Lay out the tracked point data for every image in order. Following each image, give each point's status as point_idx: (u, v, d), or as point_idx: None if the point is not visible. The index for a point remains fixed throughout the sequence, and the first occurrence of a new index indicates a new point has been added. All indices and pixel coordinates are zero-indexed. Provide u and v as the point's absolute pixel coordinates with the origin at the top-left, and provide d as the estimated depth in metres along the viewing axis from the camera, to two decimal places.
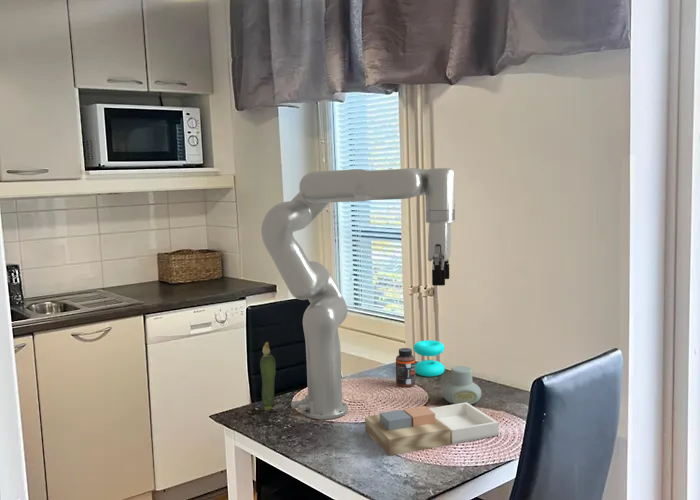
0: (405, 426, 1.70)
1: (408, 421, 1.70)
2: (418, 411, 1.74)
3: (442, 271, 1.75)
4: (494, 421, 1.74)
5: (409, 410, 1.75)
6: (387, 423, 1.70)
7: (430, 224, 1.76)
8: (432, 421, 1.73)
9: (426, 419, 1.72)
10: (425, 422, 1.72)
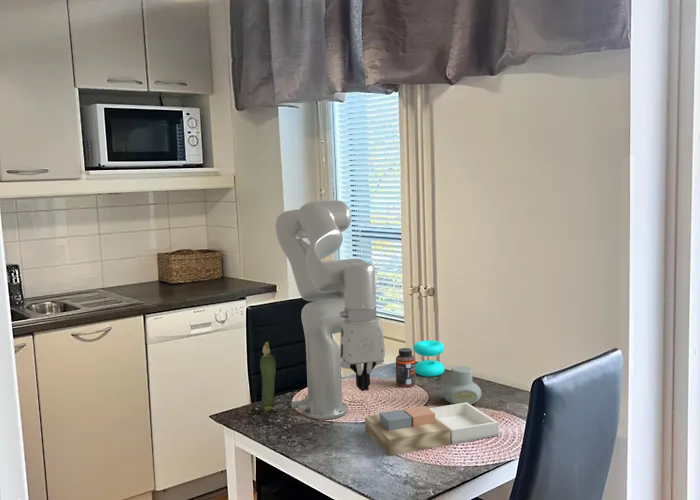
0: (405, 426, 1.70)
1: (408, 421, 1.70)
2: (418, 411, 1.74)
3: None
4: (494, 421, 1.74)
5: (409, 410, 1.75)
6: (387, 423, 1.70)
7: (379, 321, 1.66)
8: (432, 421, 1.73)
9: (426, 419, 1.72)
10: (425, 422, 1.72)
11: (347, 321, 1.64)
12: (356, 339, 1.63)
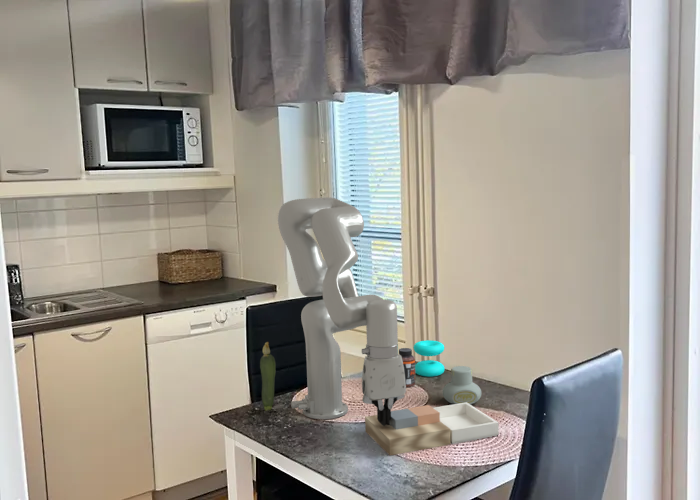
0: (411, 425, 1.71)
1: (414, 420, 1.71)
2: (422, 410, 1.75)
3: None
4: (494, 421, 1.74)
5: (413, 410, 1.75)
6: (393, 422, 1.70)
7: (401, 357, 1.69)
8: (436, 420, 1.73)
9: (430, 418, 1.72)
10: (429, 421, 1.72)
11: (369, 358, 1.67)
12: (378, 376, 1.66)
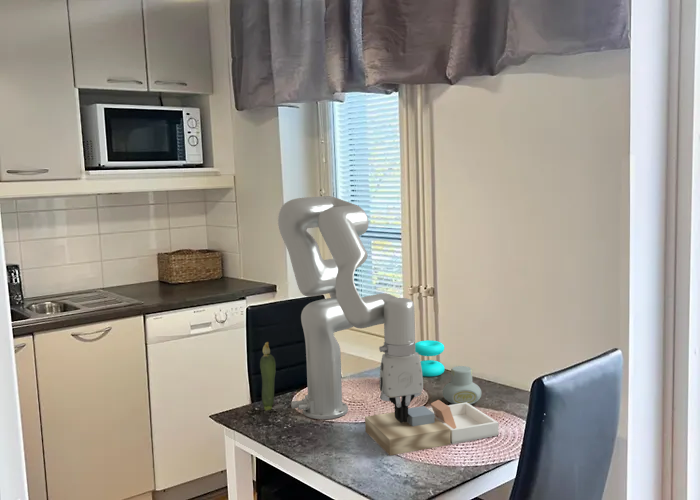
0: (428, 422, 1.72)
1: (431, 417, 1.72)
2: None
3: None
4: (494, 421, 1.74)
5: None
6: (410, 419, 1.72)
7: (418, 355, 1.70)
8: None
9: (449, 421, 1.74)
10: (447, 421, 1.74)
11: (387, 355, 1.69)
12: (396, 373, 1.68)
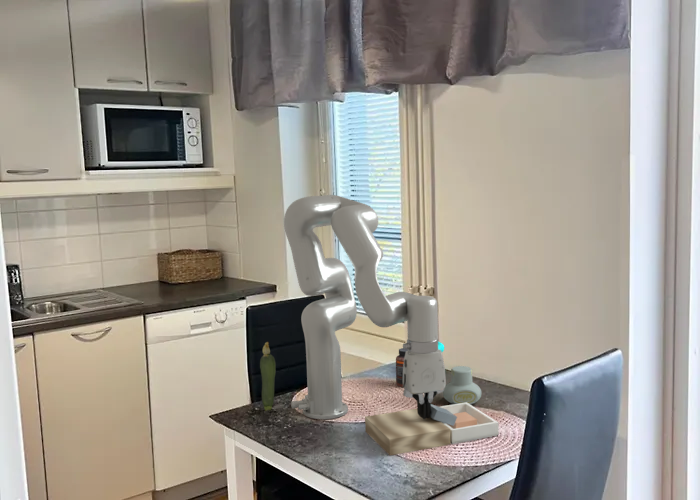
0: (448, 422, 1.74)
1: (453, 419, 1.74)
2: None
3: None
4: (494, 421, 1.74)
5: None
6: (433, 412, 1.73)
7: (441, 352, 1.72)
8: (458, 424, 1.75)
9: (464, 426, 1.76)
10: (465, 423, 1.76)
11: (410, 352, 1.71)
12: (419, 370, 1.70)
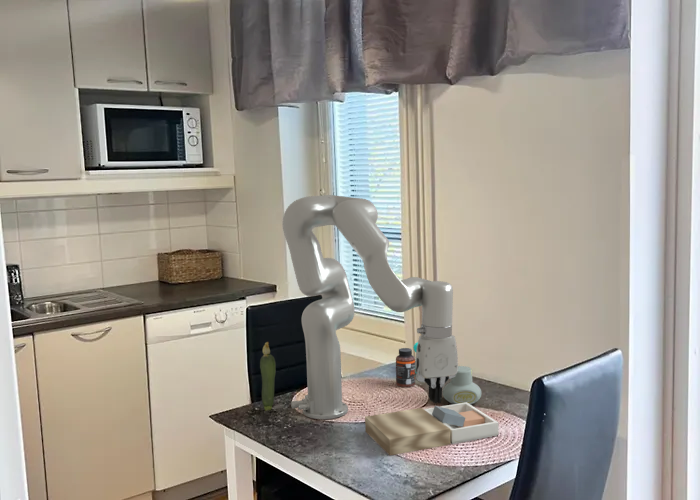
0: (457, 424, 1.75)
1: (461, 420, 1.75)
2: None
3: None
4: (494, 421, 1.74)
5: None
6: (442, 415, 1.75)
7: (454, 338, 1.73)
8: (466, 422, 1.76)
9: (472, 424, 1.77)
10: (473, 421, 1.77)
11: (424, 337, 1.72)
12: (433, 355, 1.71)
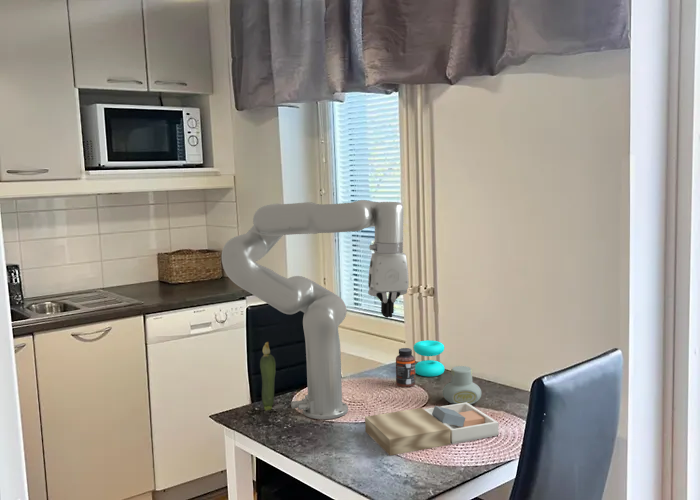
0: (457, 424, 1.75)
1: (461, 420, 1.75)
2: None
3: None
4: (494, 421, 1.74)
5: None
6: (442, 415, 1.75)
7: (405, 255, 1.84)
8: (466, 422, 1.76)
9: (472, 424, 1.77)
10: (473, 421, 1.77)
11: (376, 253, 1.82)
12: (383, 270, 1.81)
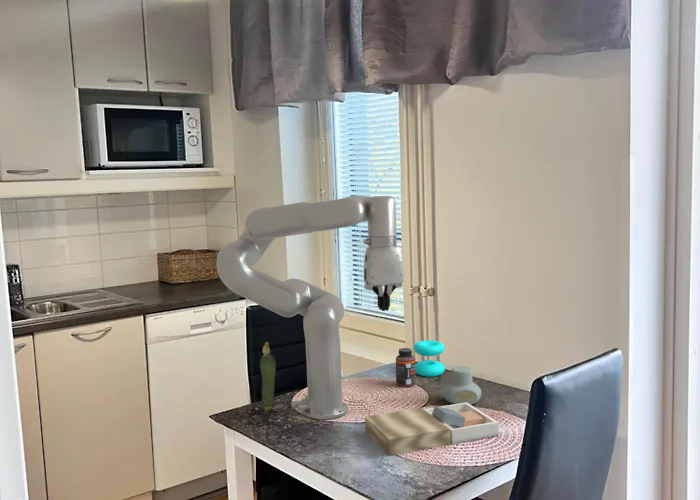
0: (457, 424, 1.75)
1: (461, 420, 1.75)
2: None
3: None
4: (494, 421, 1.74)
5: None
6: (442, 415, 1.75)
7: (399, 248, 1.85)
8: (466, 422, 1.76)
9: (472, 424, 1.77)
10: (473, 421, 1.77)
11: (370, 247, 1.84)
12: (378, 264, 1.83)
